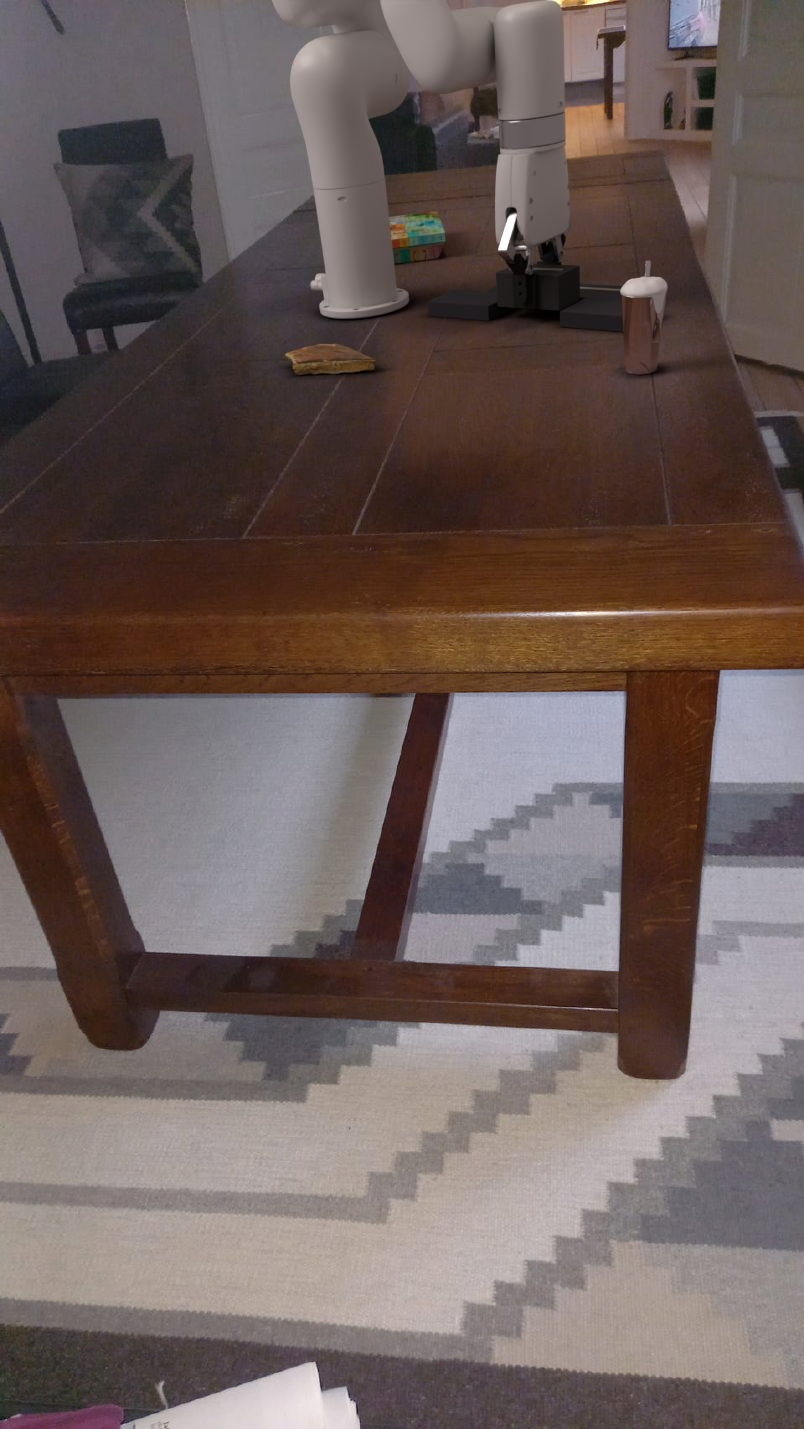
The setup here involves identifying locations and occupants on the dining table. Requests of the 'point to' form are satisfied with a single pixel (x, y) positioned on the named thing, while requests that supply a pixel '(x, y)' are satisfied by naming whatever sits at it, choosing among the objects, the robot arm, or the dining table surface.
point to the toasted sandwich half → (329, 359)
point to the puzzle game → (417, 236)
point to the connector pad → (544, 286)
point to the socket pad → (590, 312)
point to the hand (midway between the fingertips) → (537, 300)
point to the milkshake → (642, 321)
